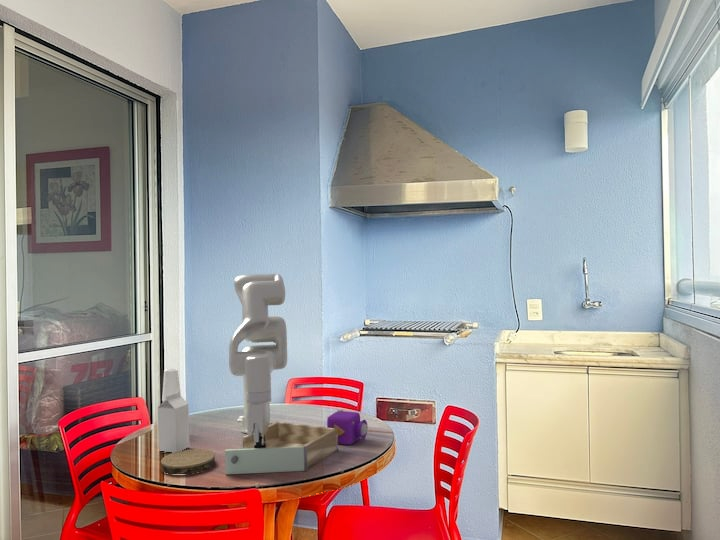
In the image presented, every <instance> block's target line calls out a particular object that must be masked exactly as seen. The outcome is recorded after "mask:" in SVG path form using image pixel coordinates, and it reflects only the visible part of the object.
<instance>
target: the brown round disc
mask: <svg viewBox="0 0 720 540" xmlns="http://www.w3.org/2000/svg"><path fill="white" fill-rule="evenodd" d="M215 458H216V457H215V452H214V451H212V450H209V449H206V448H205V449H204V448H193V449H192V448H191V449H185V450H183V451H178V452H174V453H169V454H166V455H164V457H163V458H162V459H161V461H160V470H161V469H162V471H163V472H165V473H168V474H192V473H196V474H198V473H197V472H201V471H203V472H205V471H204V470H206V471H208V470H210V469H212V468H213V467H214V466H215V465H214V464H216V462H215V461H216V460H215ZM213 465H214V466H213ZM212 466H213V467H212ZM211 467H212V468H211ZM209 468H210V469H209ZM207 469H208V470H207ZM162 471H161V472H162ZM163 472H162V473H163ZM201 473H202V472H201ZM192 475H193V474H192Z"/></svg>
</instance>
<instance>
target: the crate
mask: <svg viewBox="0 0 720 540" xmlns="http://www.w3.org/2000/svg"><path fill="white" fill-rule="evenodd" d="M272 423H273V424H271V425H269V428H268V430H267V432H266V434H265V443H266V448H273V447H295V446H307V470H309V469H310V468H312V467H314V466H315V465H317V464H318V463H320V462H321V461H324V459H326V458H328V457H330V456H331V455H332V454H334V453H336V452H337V451H339V444H338V431H337V429H335V428H327V427H326V426H324V427H323V426H318V425H317V426H316V425H309V424H300V423H292V422H283V421H276V422H272ZM251 448H254V433H253V434H252V436H251V437H248V434H246V435H244V436H242V449H251ZM335 451H336V452H335Z"/></svg>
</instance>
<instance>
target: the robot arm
mask: <svg viewBox="0 0 720 540" xmlns="http://www.w3.org/2000/svg"><path fill="white" fill-rule="evenodd" d="M233 284H234V285H233V286H234V289H235V290H234V291H235V293H236V296H237V297H238V299H239V301H240V303H241V310H242V311H241V312H242V313H241V314H242V315H241V316H242V323H241V324H240V325H239V326H238V327H237V328H236V330H235V331H234V333H233V334H232V336H231V338H230V340H229V345H228V366H229V371H230V373H231V374H232V375H233V376H235V377H242V382H243V386H242V387H243V409H244V410H243V413H244V415H240V416H239V417H238V418H237V420H236V421H237V423H238V424H239V423H240V424H242V425H241V427H240V432H241V433H244V434H247V435H248V437H251V436H252V434H253V433H254V448H266V443H265V434H266V432H267V430H268V428H269V425H271V424H273V423H274V422H271V406H270V404H271V403H270V402H272V381H271V380H272V377H271V374H272V373H273V371H276V370H283V369H285V368H286V366H287V364H288V336H287V334H288V333H287V324H286V323H287V322H286V321H285V319H284V318H283V317H281V316H277V315H276V316H275V315H274V316H269V306H281V305H283V304H284V303H285V301H286V287H285V282H284V279H283V277H282V275H280V274H277V273H265V274H262V273H261V274H259V273H258V274H256V273H253V274H242V275H238V276H235V278H234V280H233ZM243 341H246V342H247V343H250V344H251V343H253V344H254V345H248V346H245V347H243V349H242V350H241V351H239V350H238V349H239V346H240V344H241V343H242V342H243ZM256 343H259V344H258V345H257V344H256ZM260 343H274V344H260ZM255 344H256V345H255Z"/></svg>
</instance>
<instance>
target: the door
mask: <svg viewBox="0 0 720 540" xmlns="http://www.w3.org/2000/svg"><path fill="white" fill-rule="evenodd" d="M224 460H225V461H224V462H225V470H224V471H225V475H240V474H241V475H242V474H245V475H246V474H262V473H263V474H265V473H285V472H306V471H307V472H308V469H307V446H295V447H273V448H251V449H243V448H233V449H232V448H229V449H225V450H224Z"/></svg>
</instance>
